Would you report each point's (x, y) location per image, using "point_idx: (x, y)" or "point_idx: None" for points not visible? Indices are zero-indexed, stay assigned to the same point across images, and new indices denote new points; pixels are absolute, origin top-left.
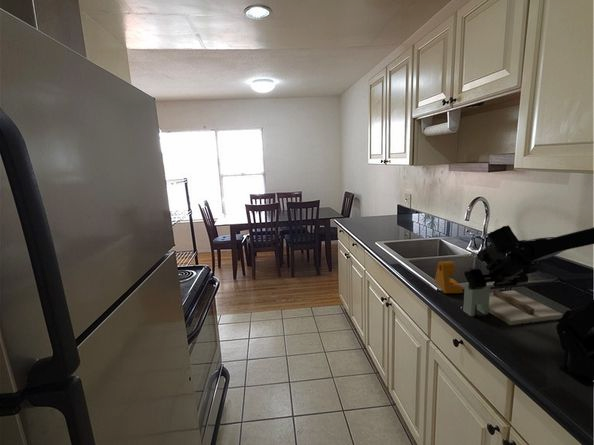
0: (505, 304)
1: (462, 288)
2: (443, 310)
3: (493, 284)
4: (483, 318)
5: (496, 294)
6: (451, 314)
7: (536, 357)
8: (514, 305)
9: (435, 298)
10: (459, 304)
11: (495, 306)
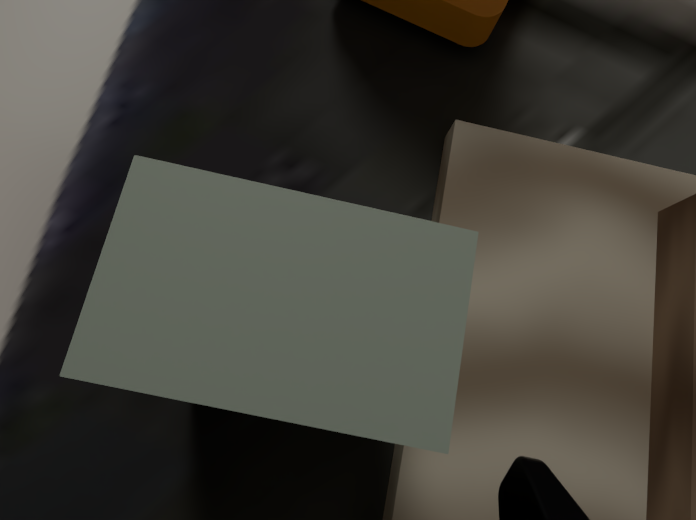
0: (610, 399)
1: (488, 17)
2: (76, 194)
3: (517, 468)
4: (257, 461)
5: (673, 241)
6: (70, 279)
7: None
8: (657, 473)
9: (211, 9)
10: (298, 173)
11: (493, 390)
